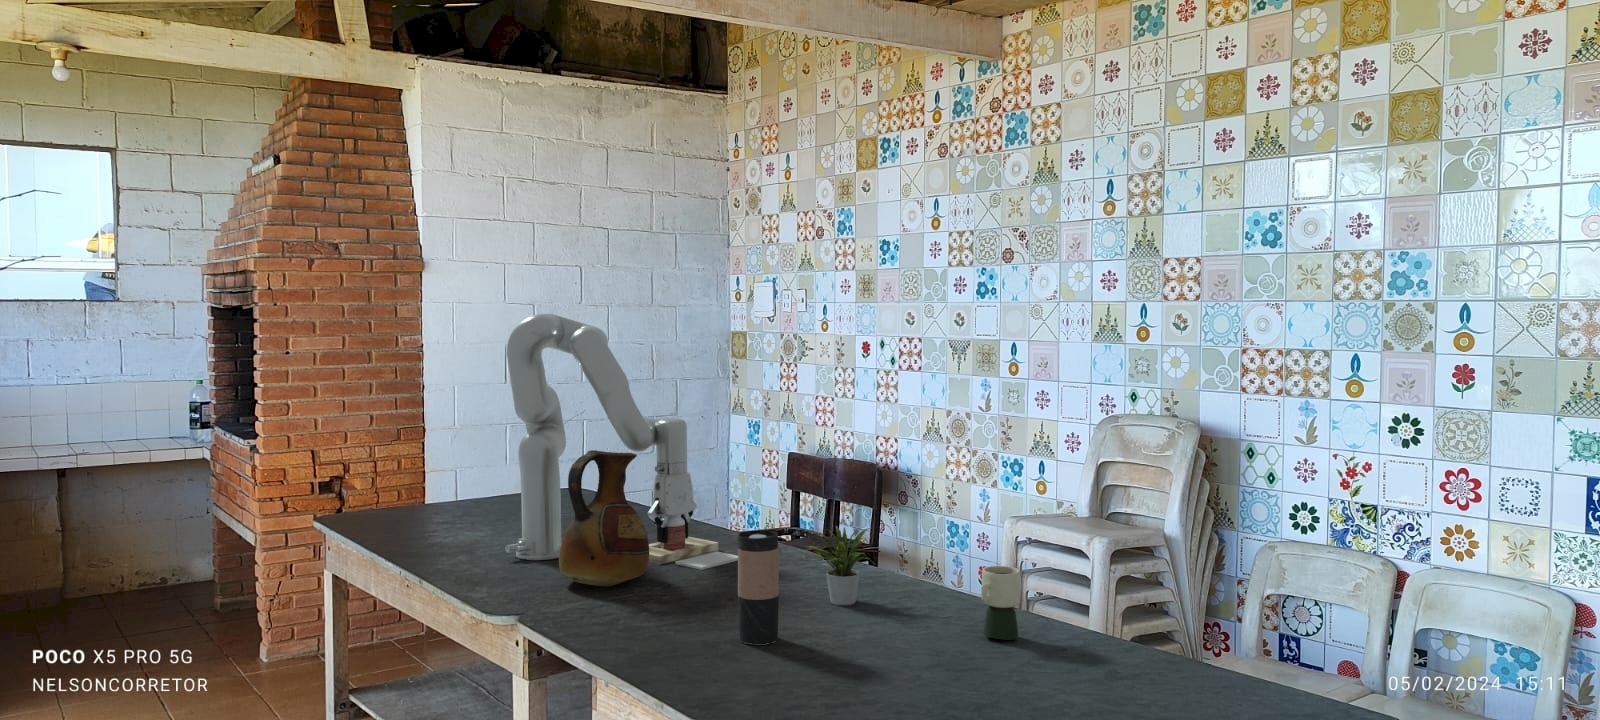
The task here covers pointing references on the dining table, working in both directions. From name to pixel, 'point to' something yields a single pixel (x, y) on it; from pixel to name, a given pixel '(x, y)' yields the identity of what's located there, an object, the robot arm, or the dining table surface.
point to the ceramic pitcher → (603, 526)
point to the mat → (708, 560)
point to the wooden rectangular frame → (681, 550)
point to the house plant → (842, 567)
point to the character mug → (1001, 601)
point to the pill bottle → (675, 533)
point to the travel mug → (758, 587)
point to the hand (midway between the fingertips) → (672, 539)
